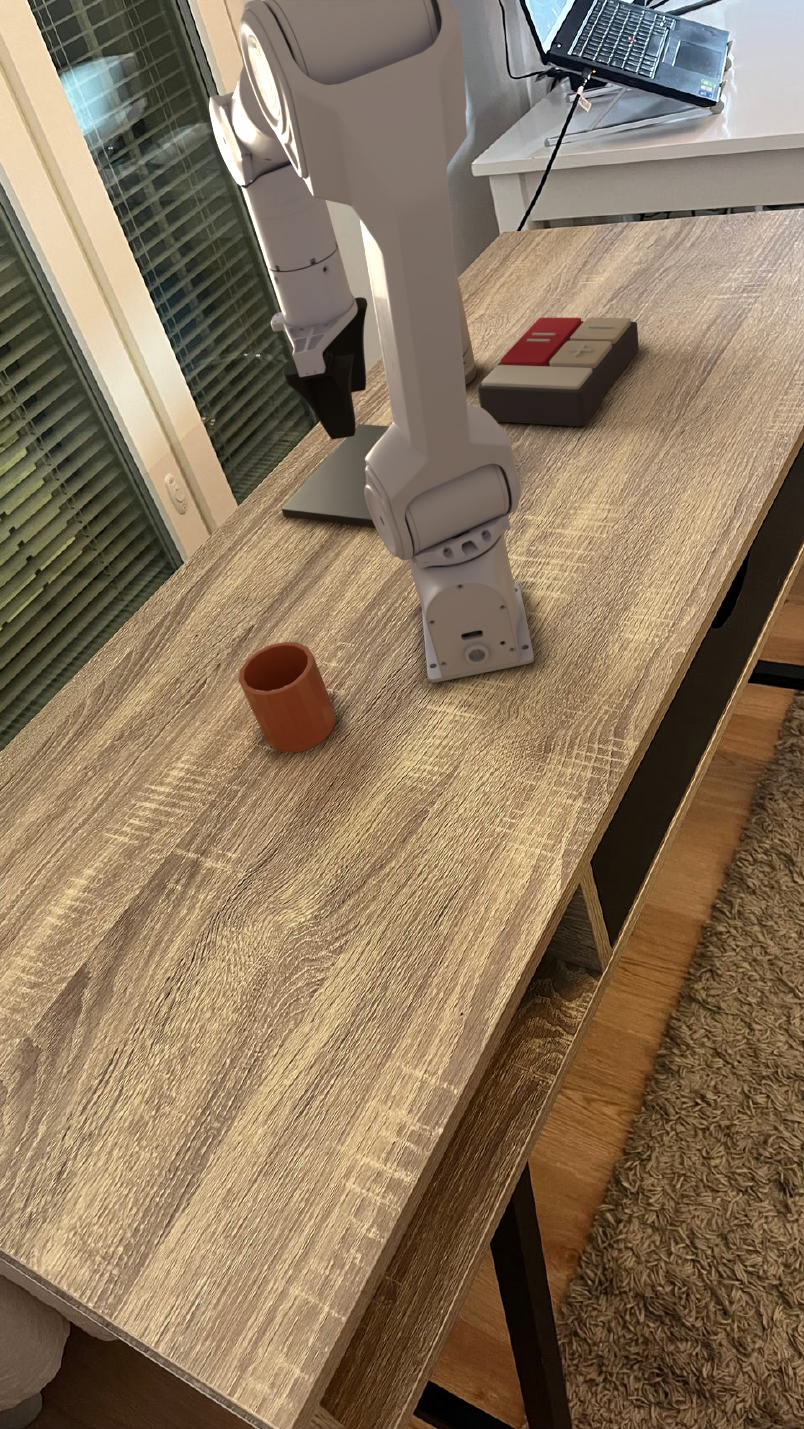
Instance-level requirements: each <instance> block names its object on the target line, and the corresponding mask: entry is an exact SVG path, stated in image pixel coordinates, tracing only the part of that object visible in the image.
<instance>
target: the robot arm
mask: <svg viewBox="0 0 804 1429" xmlns="http://www.w3.org/2000/svg"><path fill="white" fill-rule="evenodd" d="M238 33H239V35H238V36H239V43H240V48H241V52H242V53H241V54H242V56H243V61H244V63H243V66H242V69H241V71H240V73H239V77H238V79H237V82H236V85H235V87H234V90H233V91H232V92H229V93H226V94H224V95H221V94H214V95H211V96H210V97H209V105H208V106H209V114H210V121H211V124H212V128H213V134H214V137H215V141H216V143H217V146H218V149H219V152H220V154H221V156H222V158H223V160H224V163H225V164H226V166H227V168H228V171H229V172H230V174H231V176H232V178H233V179H234V180H235V183H236V184H238V185H239V186H240V187H241V189H242V192H243V196H244V199H245V202H246V205H247V208H248V211H249V214H250V217H251V220H252V223H253V226H254V230H255V232H256V236H257V239H258V241H259V242H258V243H259V245H260V249H261V251H262V254H263V258H264V262H265V264H266V266H267V270H268V273H269V276H270V279H271V282H272V285H273V288H274V292H275V295H276V297H277V301H278V305H279V307H280V310H281V311H280V312H277V313H275V314H274V315H273V316H272V317H271V321H270V325H271V329H272V331H273V332H281V331H283V332H285V333H286V335H287V338H288V340H289V342H290V344H291V346H292V348H293V351H292V358H293V360H289V361H286V362H285V364H284V367H283V370H282V375H283V378H284V380H285V382H286V384H287V385H288V386H289V387H290V388H291V389H293V390H294V391H295V392H296V393H297V394H298V395H299V396H300V397H301V398H302V399H303V400H304V401H305V402H306V403H307V405H309V407H310V408H311V410H312V411H313V413H314V414H315V416H316V418H317V419H318V421H319V422H320V424H321V426H322V427H323V429H324V431H325V432H326V433H327V436H329V438H330V439H331V441H332V440H339V439H344V438H345V439H346V438H347V437H351V436H354V435H355V428H356V427H357V425H356V415H355V407H354V400H353V396H352V395H353V393H356V392H362V391H366V388H367V371H366V370H367V369H366V359H365V343H364V342H365V341H364V340H365V339H364V337H365V335H364V334H365V321H366V315H367V310H368V300H367V298H365V297H361V296H360V297H355V296H354V295H353V293H352V292H351V287H350V284H349V280H348V277H347V272H346V269H345V265H344V262H343V258H342V255H341V252H340V248H339V244H338V241H337V240H338V239H337V238H336V237H337V236H336V233H335V228H334V225H333V222H332V219H331V214H330V212H329V209H328V204H327V202H328V201H329V202H333V203H337V204H342V205H346V206H349V207H350V208H351V209H352V210H353V212H354V213H355V214H356V216H357V217H358V219H359V223H360V228H361V234H362V241H363V248H364V254H365V260H366V265H367V271H368V278H369V283H370V289H371V295H372V296H371V297H372V300H373V307H374V315H375V320H376V327H377V332H378V337H379V346H380V350H381V356H382V363H383V368H384V374H385V381H386V387H387V392H388V393H387V394H388V398H389V399H388V400H389V405H390V410H391V411H390V412H391V417H392V421H393V423H392V424H391V423H390V424H391V426H390V427H389V428H388V430H387V431H386V432H385V433H384V435H383V436H382V437H381V438H380V439H379V441H378V442H377V443H376V444H375V445H374V447H373V448H372V449H371V451H370V452H369V453H368V454H367V456H366V458H365V461H366V469H365V472H366V486H365V490H364V492H365V499H366V503H367V506H368V509H369V512H370V515H371V518H372V520H373V523H374V525H375V527H376V528H375V529H376V532H377V533H378V536H379V538H380V539H381V541H382V543H383V544H384V546H385V548H386V549H387V551H388V552H389V553H390V554H391V555H392V556H394V557H396V558H398V559H400V560H401V561H403V562H404V561H408V565H409V569H410V572H411V576H412V579H413V582H414V586H415V590H416V593H417V597H418V600H419V603H420V607H421V614H422V627H423V637H424V650H425V660H426V672H427V673H426V675H427V679H428V681H429V682H430V683H431V684H434V683H435V684H436V683H440V682H441V683H442V682H445V681H451V680H456V679H460V678H465V677H470V676H475V675H480V674H485V673H488V672H496V671H500V670H504V669H509V668H514V667H519V666H524V665H529V664H531V663H533V662H534V661H535V655H534V650H533V645H532V639H531V634H530V630H529V624H528V620H527V615H526V610H525V604H524V598H523V594H522V590H521V589H522V588H521V585H520V584H519V583H518V582H517V583H516V582H514V578H513V573H512V568H511V563H510V558H509V554H508V548H507V543H506V538H505V533H506V531H508V530H511V522H510V516H509V515H511V514H512V513H515V512H516V511H517V509H518V508H519V505H520V500H521V496H522V484H521V481H520V480H521V479H520V476H519V472H518V470H517V467H516V464H515V460H514V455H513V449H512V442H511V440H510V439H509V437H508V435H507V434H506V432H505V431H504V430H503V428H502V426H501V425H500V424H499V422H498V421H495V419H494V418H493V417H492V416H491V415H490V414H489V413H488V412H487V411H486V410H484V409H483V408H481V407H480V405H476V404H471V403H468V401H467V390H466V389H467V388H466V386H465V376H464V364H463V352H462V340H461V328H460V316H459V305H458V293H457V281H456V270H457V268H456V269H455V265H456V258H455V247H454V235H453V234H454V233H453V225H452V224H453V223H452V211H451V201H450V199H451V198H450V188H449V187H450V186H449V178H448V177H449V176H448V175H449V174H448V166H449V165H450V163H451V161H452V160H453V159H454V157H455V155H456V154H457V153H458V151H459V150H460V148H461V147H462V145H463V143H464V142H465V141H466V139H467V137H468V128H467V126H468V125H467V114H466V112H467V106H468V104H467V91H466V90H467V88H466V76H465V74H466V72H465V60H464V59H465V58H464V43H463V32H462V27H461V22H460V19H459V15H458V13H457V10H456V8H455V6H454V3H453V0H249V1H247V2H246V3H245V4H244V6H243V10H242V15H241V18H240V20H239V26H238Z"/></svg>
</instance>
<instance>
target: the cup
mask: <svg viewBox="0 0 804 1429" xmlns="http://www.w3.org/2000/svg"><path fill="white" fill-rule="evenodd" d="M238 683H239V685H240V688H241V689H242V691H243V694H244V696H245V698H246V700H247V702H248V704H249V706H250V709H251V711H252V714H253V715H254V717H255V720H256V722H257V723H258V725H259V728H260V730H261V733H262V735H263V736H264V738H265V741H266V742H267V744H268V745H269V746H270V747H271V748H272V749H274V750H276V751H278V752H281V753H287V754H288V753H289V754H292V753H301V752H304V751H307V750H310V749H312V748H314V747H316V746H318V745H320V744H321V743H322V742H324V741H325V740H326V739H327V738H328V737H329V736H330V734H331V733H332V731H333V730H334V727H335V724H336V719H337V718H336V712H335V710H334V704H333V702H332V700H331V697H330V695H329V693H328V689H327V687H326V685H325V682H324V680H323V677H322V675H321V672H320V669H319V666H318V663H317V660H316V659H315V656H314V654H313V653H312V651H311V649H310V648H309V647H308V646H306V645H304V644H302V643H300V642H296V641H281V642H277V643H272V644H269V645H267V646H265V647H263V648H260V649H258V650H257V651H255V652H254V653H252V654H251V655H250V656H248V658H247V659H246V660H245V661H244V662H243V664H242V666H241V668H240V669H239V674H238Z"/></svg>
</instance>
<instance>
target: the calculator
mask: <svg viewBox="0 0 804 1429" xmlns="http://www.w3.org/2000/svg"><path fill="white" fill-rule="evenodd" d="M639 347H640V344H639V330H638V323H637V322H636V321H632V320H631V318H630V317H587V318H586V319H584V321H583V320H582V318H581V317H545V316H544V317H539V318H538V319H536V321H534V323H533V324H532V325H531V326H530V327H529V328H528V329H527V331H525V333H524V334H523V335H522V336H520V338H519V339H517V341H516V342H515V344H513V345H512V346H511V348H510V349H509V350H508V351H507V352H506V353H505V354H504V355H503V356H502V357H501V358H500V361H499V362H498V363H497V364H496V366H494V367H493V369H492V370H491V371H490V372H489V373H488V374H487V375H486V376H485V377H484V378H483V379H482V381H480V383H479V384H478V385H477V386H476V390H477V396H478V402H479V407H481V408H483V409H484V410H486V411H487V412H488V413H489V414H490V415H491V416H492V417H493V418H494V419H495V421H496V422H498V423H499V422H503V423H517V424H532V425H533V424H534V425H535V424H536V425H549V426H550V425H552V426H567V427H585V426H587V424H588V423H589V421H590V420H591V419H592V418H593V417H594V415H595V414H596V413H597V411H598V410H599V409H600V407H601V403H602V400H603V397H604V396H605V394H606V393H607V392H608V391H609V389H610V388H611V387H612V386H613V384H614V383H615V382H616V380H617V379H618V378H619V377H620V375H621V374H622V373H623V371H624V370H625V368H626V367H627V366H628V365H629V364H630V362H631V361H632V360H633V358H634V357H635V355H637V353H638V352H639V350H640V348H639Z"/></svg>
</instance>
